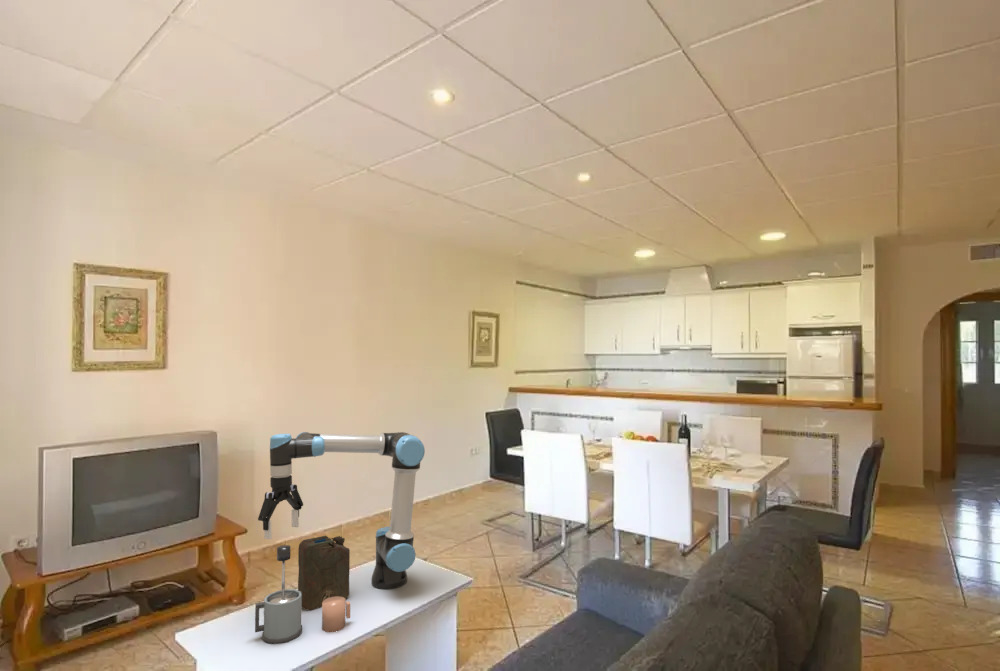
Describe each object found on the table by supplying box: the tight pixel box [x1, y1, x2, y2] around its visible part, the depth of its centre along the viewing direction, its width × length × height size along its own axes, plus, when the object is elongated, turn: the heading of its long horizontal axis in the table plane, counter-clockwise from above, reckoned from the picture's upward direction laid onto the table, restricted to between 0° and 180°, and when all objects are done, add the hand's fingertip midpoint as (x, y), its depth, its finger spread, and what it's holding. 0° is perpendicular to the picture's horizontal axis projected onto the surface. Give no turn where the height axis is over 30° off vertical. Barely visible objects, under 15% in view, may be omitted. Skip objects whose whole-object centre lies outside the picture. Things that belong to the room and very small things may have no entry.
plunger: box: [269, 544, 297, 604], centre depth 187 cm, size 9×9×18 cm
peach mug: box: [321, 596, 351, 633], centre depth 192 cm, size 10×8×9 cm
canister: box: [297, 535, 351, 611], centre depth 212 cm, size 19×8×25 cm, turn 129°
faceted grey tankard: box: [254, 588, 303, 645], centre depth 186 cm, size 15×13×13 cm
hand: (281, 532), depth 200 cm, fingers open, 13 cm apart
